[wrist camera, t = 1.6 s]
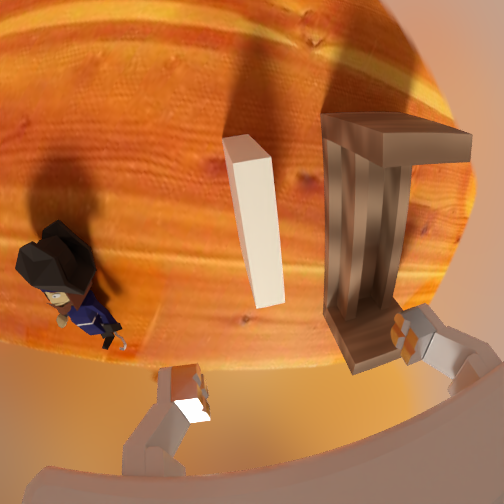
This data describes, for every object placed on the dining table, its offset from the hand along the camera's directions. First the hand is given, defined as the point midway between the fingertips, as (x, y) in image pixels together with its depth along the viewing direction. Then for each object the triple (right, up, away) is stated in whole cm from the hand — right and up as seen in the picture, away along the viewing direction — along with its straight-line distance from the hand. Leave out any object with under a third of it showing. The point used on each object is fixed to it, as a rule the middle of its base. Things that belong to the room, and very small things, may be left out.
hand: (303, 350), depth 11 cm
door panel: (-3, +8, +13) cm, 16 cm away
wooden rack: (+9, +6, +16) cm, 20 cm away
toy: (-19, +1, +15) cm, 24 cm away
